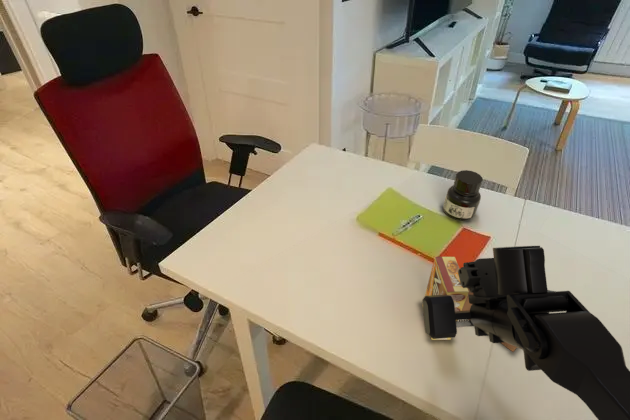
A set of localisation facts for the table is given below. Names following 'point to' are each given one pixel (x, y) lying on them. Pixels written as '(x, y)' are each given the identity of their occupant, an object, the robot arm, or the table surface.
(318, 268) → the table surface
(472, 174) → the ink bottle
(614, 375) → the robot arm
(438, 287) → the candy box
